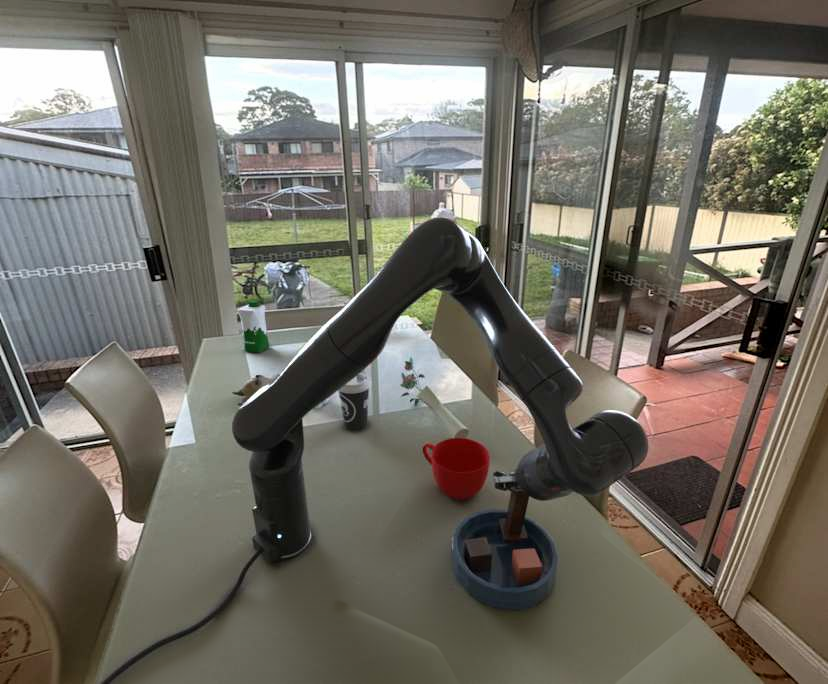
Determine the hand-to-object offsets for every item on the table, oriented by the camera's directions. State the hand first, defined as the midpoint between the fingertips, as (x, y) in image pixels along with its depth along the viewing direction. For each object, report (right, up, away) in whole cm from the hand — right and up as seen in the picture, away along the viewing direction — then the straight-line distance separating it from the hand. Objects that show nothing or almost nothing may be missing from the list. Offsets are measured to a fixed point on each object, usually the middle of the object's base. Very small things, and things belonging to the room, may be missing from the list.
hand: (518, 484), depth 80 cm
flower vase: (-14, +4, +53) cm, 55 cm away
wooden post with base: (0, -11, +5) cm, 12 cm away
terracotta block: (+1, -16, -1) cm, 16 cm away
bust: (-49, +7, +60) cm, 78 cm away
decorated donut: (-60, +22, +99) cm, 118 cm away
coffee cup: (-36, +2, +47) cm, 59 cm away
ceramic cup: (-10, -8, +22) cm, 26 cm away
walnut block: (-7, -15, +1) cm, 17 cm away
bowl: (-3, -16, +2) cm, 16 cm away
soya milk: (-84, +23, +102) cm, 135 cm away
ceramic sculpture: (-69, +7, +63) cm, 94 cm away
